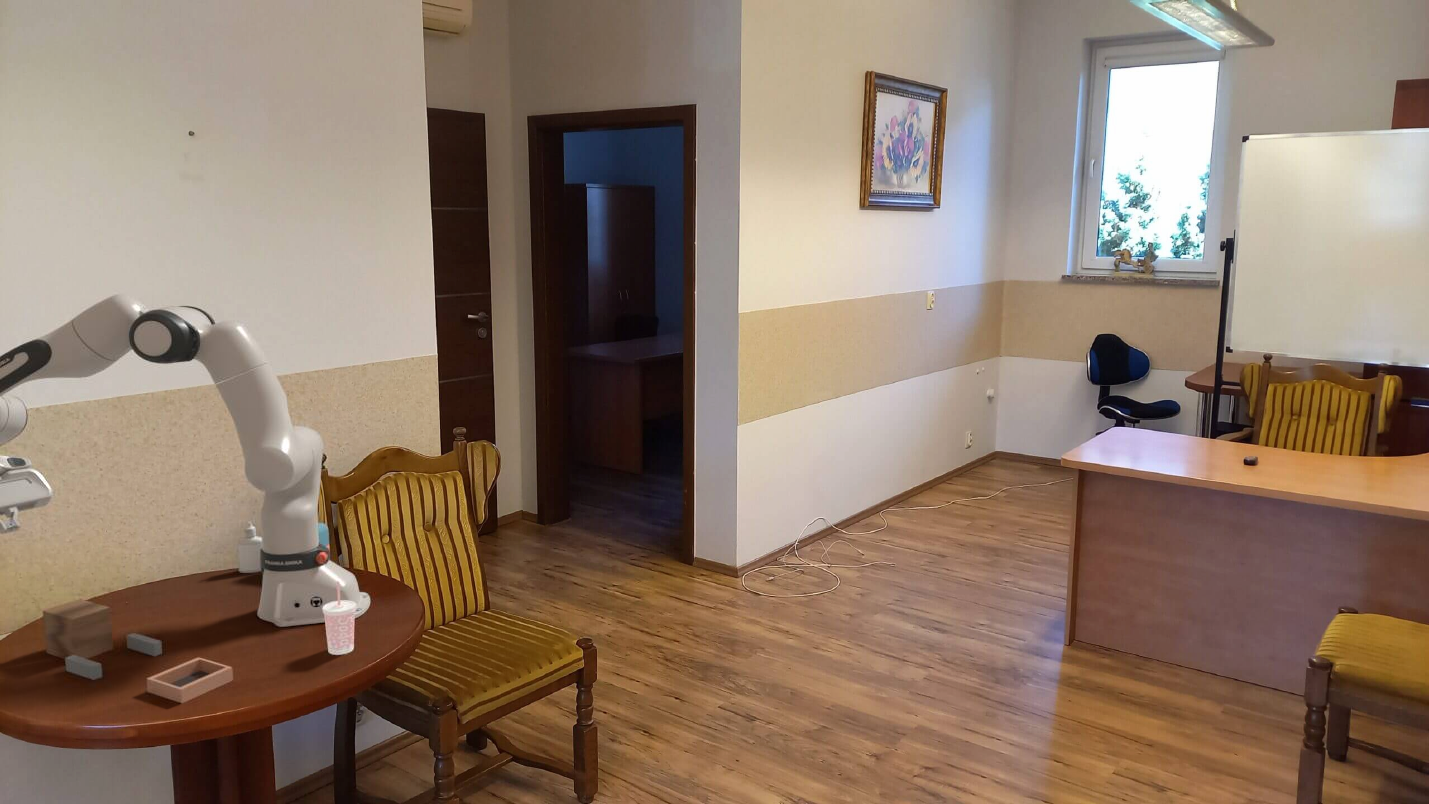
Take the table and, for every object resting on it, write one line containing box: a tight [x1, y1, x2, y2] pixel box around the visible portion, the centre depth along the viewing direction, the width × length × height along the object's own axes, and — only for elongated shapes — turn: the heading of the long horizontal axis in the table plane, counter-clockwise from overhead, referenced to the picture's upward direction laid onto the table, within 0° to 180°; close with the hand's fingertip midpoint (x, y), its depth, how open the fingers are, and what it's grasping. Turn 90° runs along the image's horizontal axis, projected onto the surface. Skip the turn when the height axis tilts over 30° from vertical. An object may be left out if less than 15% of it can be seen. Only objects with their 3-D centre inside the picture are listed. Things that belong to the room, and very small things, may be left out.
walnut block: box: [42, 598, 114, 660], centre depth 185 cm, size 9×7×8 cm
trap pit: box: [146, 657, 234, 704], centre depth 172 cm, size 9×10×2 cm
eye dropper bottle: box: [237, 521, 262, 574], centre depth 230 cm, size 4×6×12 cm
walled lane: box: [64, 632, 163, 681], centre depth 181 cm, size 8×13×2 cm, turn 155°
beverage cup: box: [322, 581, 356, 656], centre depth 187 cm, size 6×6×14 cm
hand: (11, 530), depth 190 cm, fingers closed
